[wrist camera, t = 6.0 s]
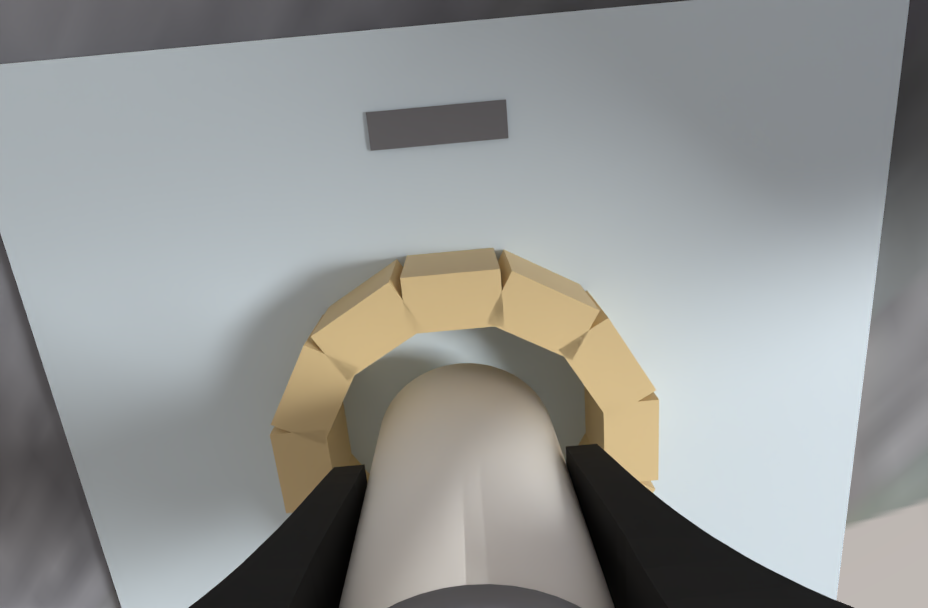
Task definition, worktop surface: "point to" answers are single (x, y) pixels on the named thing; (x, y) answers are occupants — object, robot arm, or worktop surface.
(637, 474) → the plate
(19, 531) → the worktop surface
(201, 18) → the worktop surface
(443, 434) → the tube
